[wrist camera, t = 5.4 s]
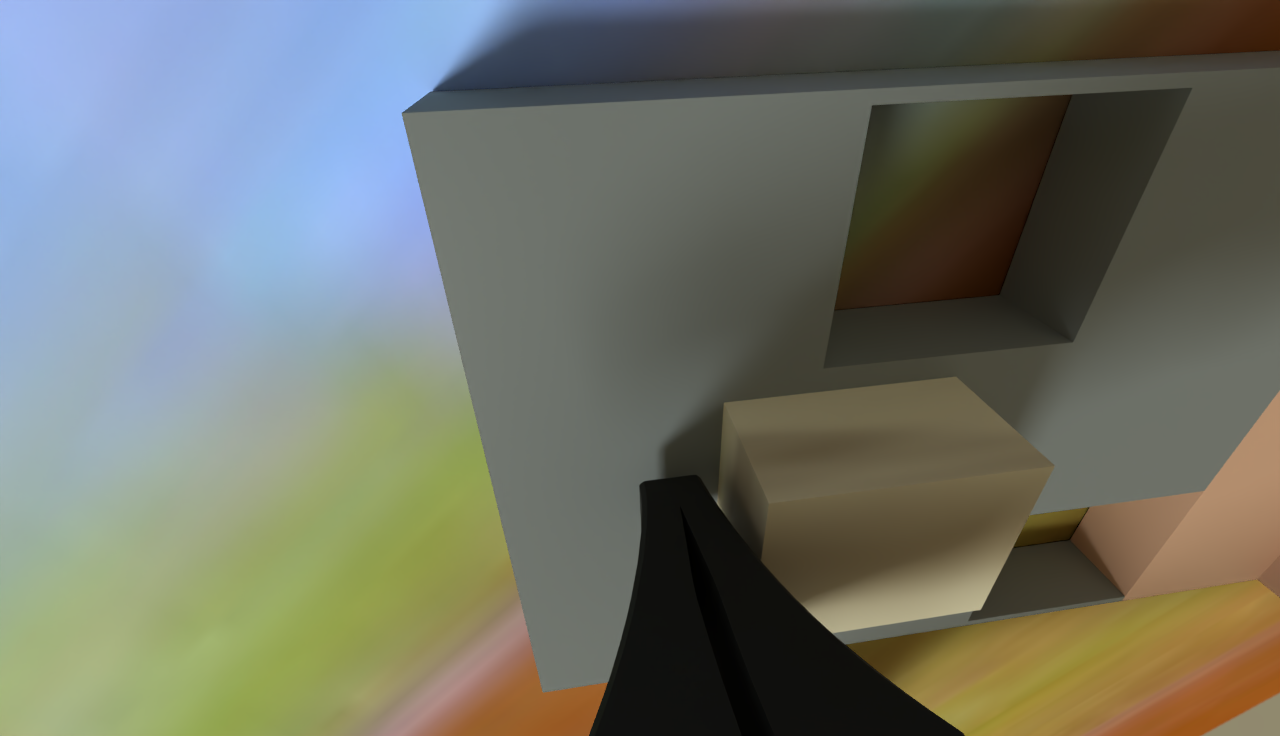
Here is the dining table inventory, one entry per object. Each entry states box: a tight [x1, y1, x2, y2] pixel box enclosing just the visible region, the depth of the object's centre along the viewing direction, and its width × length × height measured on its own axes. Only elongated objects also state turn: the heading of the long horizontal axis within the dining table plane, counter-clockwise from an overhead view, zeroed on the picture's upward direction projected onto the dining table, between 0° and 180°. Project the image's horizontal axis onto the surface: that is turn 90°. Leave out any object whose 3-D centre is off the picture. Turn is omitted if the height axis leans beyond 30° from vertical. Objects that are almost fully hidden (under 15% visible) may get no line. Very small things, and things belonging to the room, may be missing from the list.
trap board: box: [402, 51, 1280, 692], centre depth 15 cm, size 17×27×4 cm, turn 92°
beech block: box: [717, 377, 1055, 633], centre depth 12 cm, size 4×6×3 cm
